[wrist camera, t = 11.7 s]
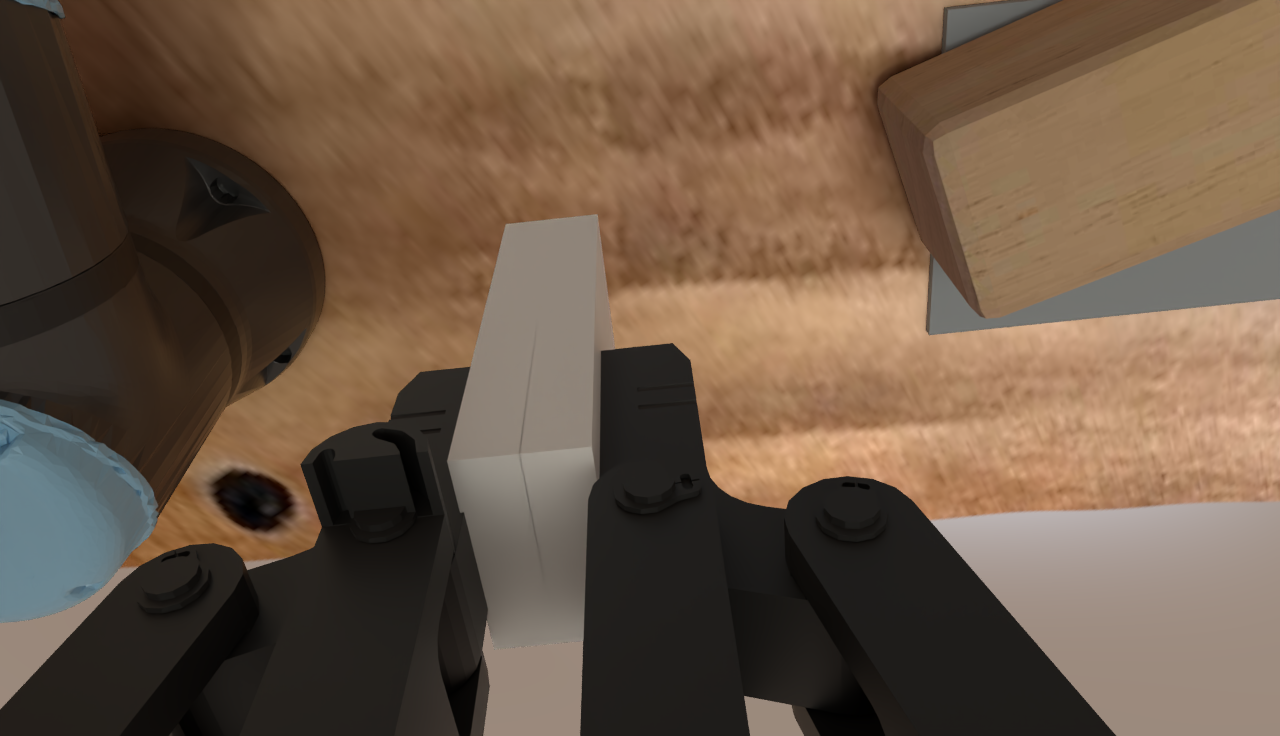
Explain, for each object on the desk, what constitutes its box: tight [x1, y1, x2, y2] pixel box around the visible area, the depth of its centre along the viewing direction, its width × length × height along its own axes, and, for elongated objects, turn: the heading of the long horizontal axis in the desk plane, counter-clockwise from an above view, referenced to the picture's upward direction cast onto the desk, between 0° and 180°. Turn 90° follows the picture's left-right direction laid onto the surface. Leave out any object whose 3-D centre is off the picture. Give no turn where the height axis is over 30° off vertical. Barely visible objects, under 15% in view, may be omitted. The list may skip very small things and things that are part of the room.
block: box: [877, 0, 1280, 319], centre depth 44 cm, size 10×10×20 cm
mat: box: [926, 0, 1280, 335], centre depth 51 cm, size 22×18×1 cm
